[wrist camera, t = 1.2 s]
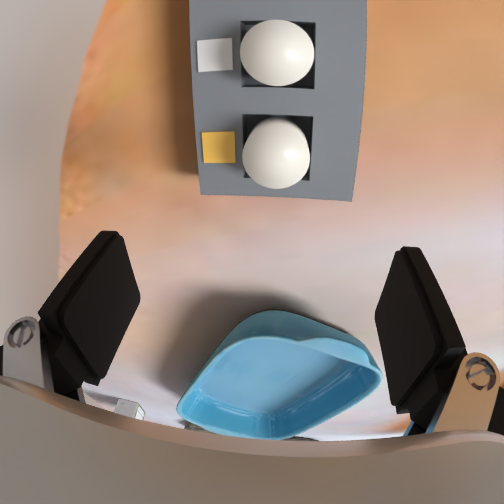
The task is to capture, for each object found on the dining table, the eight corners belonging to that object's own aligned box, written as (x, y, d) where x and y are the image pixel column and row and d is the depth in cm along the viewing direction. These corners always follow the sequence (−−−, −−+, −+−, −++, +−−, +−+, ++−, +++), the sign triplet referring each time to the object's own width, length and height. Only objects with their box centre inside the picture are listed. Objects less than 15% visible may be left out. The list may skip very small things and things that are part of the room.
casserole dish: (274, 420, 57) (272, 449, 52) (174, 389, 54) (165, 421, 48) (404, 324, 37) (415, 367, 31) (256, 259, 33) (249, 308, 27)
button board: (351, -51, 13) (363, -67, 10) (343, 181, 26) (352, 202, 23) (203, -53, 14) (188, -69, 11) (211, 176, 27) (200, 195, 24)
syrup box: (118, 397, 61) (99, 448, 49) (139, 402, 60) (122, 456, 49) (126, 407, 64) (109, 455, 53) (146, 412, 64) (131, 462, 52)
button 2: (308, 117, 20) (311, 127, 18) (305, 172, 23) (307, 190, 20) (247, 115, 21) (241, 125, 18) (248, 169, 23) (243, 187, 21)
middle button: (310, 27, 16) (314, 21, 13) (309, 84, 19) (313, 87, 16) (246, 26, 17) (239, 19, 14) (247, 82, 19) (240, 85, 16)
